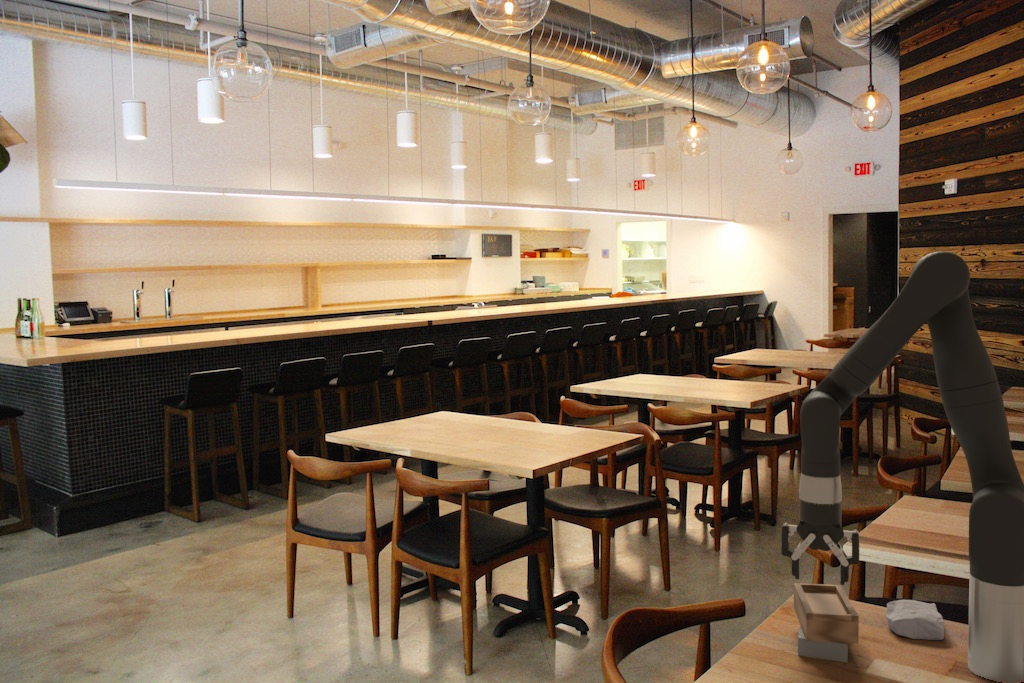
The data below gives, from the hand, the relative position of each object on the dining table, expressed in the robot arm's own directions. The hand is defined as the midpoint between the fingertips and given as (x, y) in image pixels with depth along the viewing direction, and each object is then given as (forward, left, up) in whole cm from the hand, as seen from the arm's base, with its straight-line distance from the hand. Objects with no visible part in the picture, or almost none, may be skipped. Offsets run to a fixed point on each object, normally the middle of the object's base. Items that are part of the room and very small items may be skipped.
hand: (819, 580), depth 155 cm
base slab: (-1, 0, -13) cm, 13 cm away
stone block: (-12, -13, -12) cm, 21 cm away
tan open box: (-1, 0, -9) cm, 9 cm away
